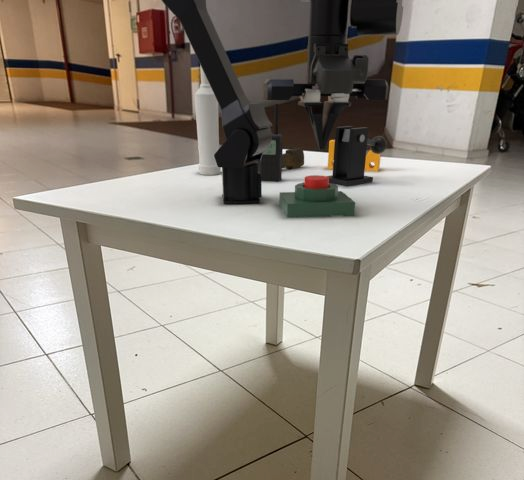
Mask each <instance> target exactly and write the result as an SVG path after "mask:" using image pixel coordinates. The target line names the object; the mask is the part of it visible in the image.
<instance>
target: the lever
mask: <svg viewBox="0 0 524 480" xmlns="http://www.w3.org/2000/svg"><path fill="white" fill-rule="evenodd" d="M349 137H350V130H349V129H344V133H343V138H342V142H345V143H349ZM367 146H369V150H370V149H371V151H372V152H373V153H375V154H380V155H381V154H382V153H384V152H385V151H386V150H387V147H388V142H387V140H386V138H385V137H384V136H382V135H377V136H374V137H373V138H372V139H370V138H368V140H367Z"/></svg>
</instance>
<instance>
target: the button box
mask: <svg viewBox="0 0 524 480" xmlns="http://www.w3.org/2000/svg"><path fill="white" fill-rule="evenodd" d="M304 183H305V182H300V183H297V184H295V185H294V191H286V192H285V191H283V192H282V191H281V192H279V195H278V196H279V198H278V199H279V200H278V201H279V207H280V208H281V210H282V212H283V213H284V215H285V217H286V218H287V219H289V218H290V219H291V218H326V217H327V218H328V217H329V218H331V217H338V216H339V217H355V212H356V211H355V210H356V201H354V200H353V199H352V198H351V197H349V196H348V195H347V194H346V193H344V192H343V191H341V190H339V185H336V184H331V183H329V188H324V189H313V188H306V187H304Z"/></svg>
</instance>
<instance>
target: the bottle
mask: <svg viewBox="0 0 524 480" xmlns="http://www.w3.org/2000/svg"><path fill="white" fill-rule="evenodd" d="M199 66H200V68H199V69H200V85H199V88H198V89H197V91H196V92H194V95H193V96H194V107H195V108H194V109H195V120H196V133H197V148H198V160H199V164H198V172H199V174H200V175H203V176H216V175H221V171H222V167H218V166H217V163H216V160H215V157H214V154H215V153H216V152H217V151H218V149H219V148H220V136H219V135H220V134H219V133H220V132H219V131H220V130H219V128H220V127H219V126H220V125H219V103H218V101H217V99H216V97H215V95H214V93H213V91H212V88H211V86H210V84H209V82H208V80H207V78H206V76H205V74H204V71H203V69H202V67H201V65H200V64H199Z"/></svg>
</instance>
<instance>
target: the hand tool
mask: <svg viewBox="0 0 524 480" xmlns="http://www.w3.org/2000/svg"><path fill="white" fill-rule="evenodd" d="M257 164H258V172H259V162H257ZM304 165H305V153H304V149H303V148H302V147H294V148H288V149H286V150H285V153H282V169H286V170H296V169H299V168H302V167H303V166H304Z"/></svg>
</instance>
